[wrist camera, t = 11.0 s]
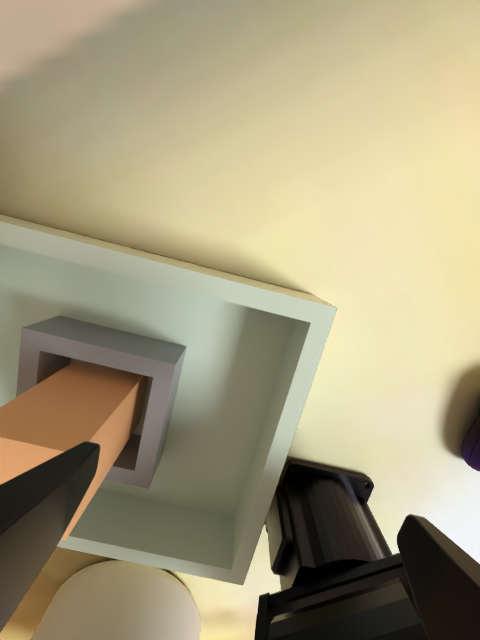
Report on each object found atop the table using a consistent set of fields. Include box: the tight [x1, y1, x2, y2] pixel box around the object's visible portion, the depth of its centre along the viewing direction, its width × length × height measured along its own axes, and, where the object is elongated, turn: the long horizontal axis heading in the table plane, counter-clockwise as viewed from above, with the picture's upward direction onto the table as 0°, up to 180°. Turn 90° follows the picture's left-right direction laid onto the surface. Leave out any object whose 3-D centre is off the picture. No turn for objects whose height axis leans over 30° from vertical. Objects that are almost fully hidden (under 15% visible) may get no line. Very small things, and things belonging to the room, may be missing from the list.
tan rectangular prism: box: [0, 359, 149, 540], centre depth 14 cm, size 4×4×8 cm
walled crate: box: [0, 214, 337, 585], centre depth 17 cm, size 22×18×4 cm
